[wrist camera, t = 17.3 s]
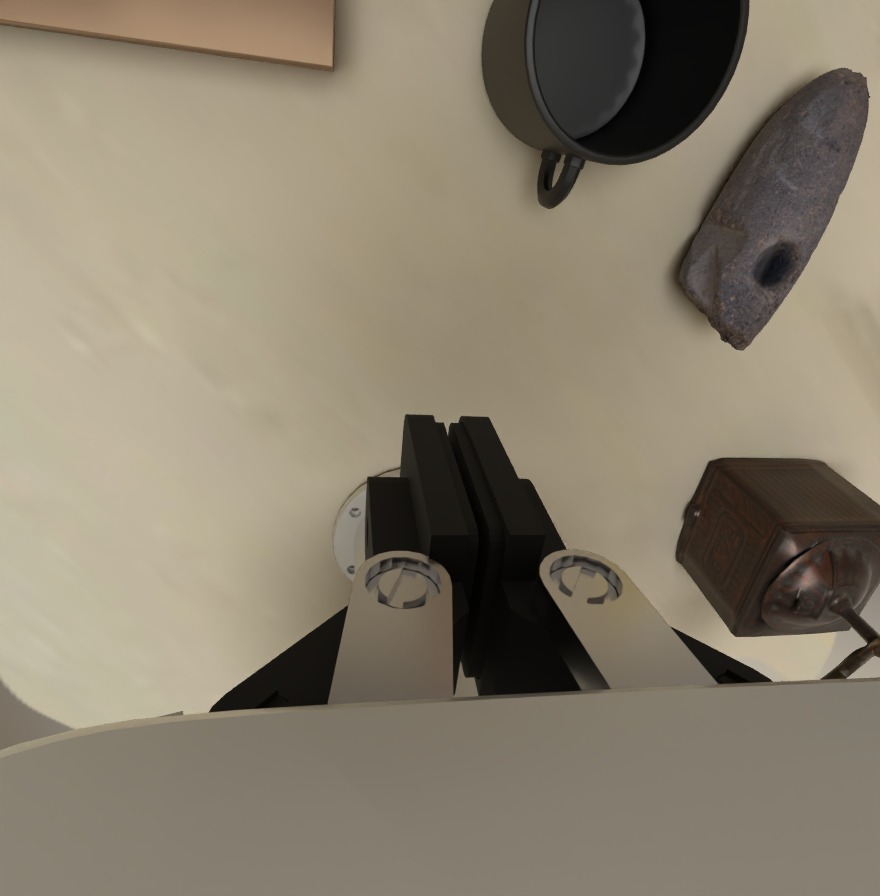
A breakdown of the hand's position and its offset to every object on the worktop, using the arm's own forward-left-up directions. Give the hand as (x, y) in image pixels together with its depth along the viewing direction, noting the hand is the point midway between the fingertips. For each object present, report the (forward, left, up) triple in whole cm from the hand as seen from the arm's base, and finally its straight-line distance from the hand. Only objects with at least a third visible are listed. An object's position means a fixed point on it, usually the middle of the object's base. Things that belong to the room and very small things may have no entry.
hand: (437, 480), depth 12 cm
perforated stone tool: (+4, -22, -27) cm, 35 cm away
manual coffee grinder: (-22, -32, -27) cm, 47 cm away
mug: (+9, -9, -27) cm, 30 cm away
